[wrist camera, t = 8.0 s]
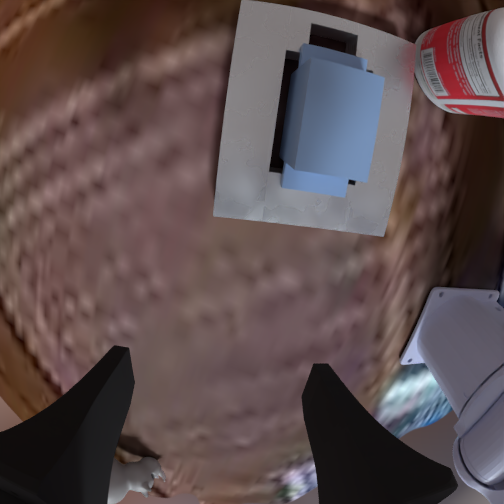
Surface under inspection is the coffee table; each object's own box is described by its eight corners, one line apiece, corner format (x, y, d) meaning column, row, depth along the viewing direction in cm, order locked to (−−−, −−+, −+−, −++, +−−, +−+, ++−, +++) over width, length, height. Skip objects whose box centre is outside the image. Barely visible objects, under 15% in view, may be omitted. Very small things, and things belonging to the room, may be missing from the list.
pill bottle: (484, 73, 14) (600, 79, 4) (455, 130, 16) (583, 162, 6) (428, 13, 13) (545, -23, 3) (393, 69, 15) (528, 48, 5)
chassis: (400, 50, 14) (416, 44, 12) (371, 225, 19) (383, 236, 17) (241, 11, 13) (241, -1, 12) (215, 206, 18) (212, 216, 16)
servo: (293, 54, 15) (314, 30, 10) (349, 67, 15) (387, 52, 10) (275, 178, 18) (289, 199, 13) (330, 186, 18) (361, 210, 13)
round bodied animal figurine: (151, 453, 34) (168, 506, 27) (68, 452, 28) (77, 509, 21) (159, 432, 31) (179, 493, 25) (63, 430, 25) (71, 496, 19)
